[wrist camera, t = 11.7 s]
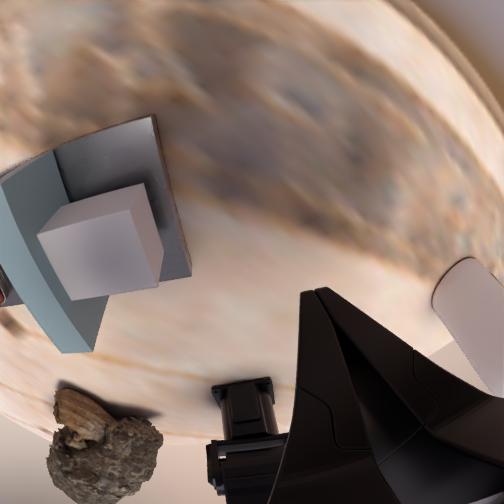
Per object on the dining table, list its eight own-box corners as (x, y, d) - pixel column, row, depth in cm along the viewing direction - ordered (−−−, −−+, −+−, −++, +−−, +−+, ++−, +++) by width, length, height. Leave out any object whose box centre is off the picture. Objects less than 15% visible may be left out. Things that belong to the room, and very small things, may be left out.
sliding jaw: (179, 281, 18) (175, 343, 13) (75, 298, 17) (54, 353, 13) (134, 121, 12) (99, 142, 8) (16, 167, 11) (-35, 204, 7)
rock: (131, 529, 21) (44, 528, 11) (82, 466, 30) (6, 443, 19) (195, 451, 29) (109, 434, 18) (133, 393, 37) (58, 354, 27)
